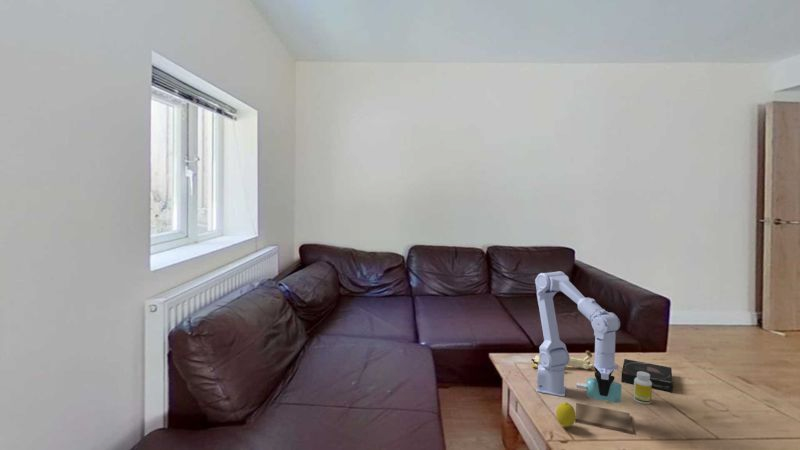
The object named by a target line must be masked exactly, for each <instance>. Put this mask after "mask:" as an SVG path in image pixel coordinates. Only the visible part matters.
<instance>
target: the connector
mask: <svg viewBox="0 0 800 450" xmlns="http://www.w3.org/2000/svg"><path fill="white" fill-rule="evenodd" d="M576 389H581V390H585V391H586V393H585V394H586V397H589V398H590V399H595V400H599V401H604V402H609V403H610V402H612V403H618V404H619V403H621V402H622V384H621V383H619V382H617V381H613V382H612V384H611V386H610V389H609V393H608V396H601V395H600V393H599V387H598V382H597V380H596V378H595V377H588V378H586V383H583V382H582V383H581V382H576Z"/></svg>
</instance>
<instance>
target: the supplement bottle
mask: <svg viewBox="0 0 800 450" xmlns="http://www.w3.org/2000/svg"><path fill="white" fill-rule="evenodd" d="M649 379H650V374H649V373H646V372H642V371H639V372H637V377H636V378H635V379H634V385H633V400H634V401H635V402H637V403H640V404H645V405H649V404H651V403H652V390H653V389H652V382H651V381H650V380H649Z"/></svg>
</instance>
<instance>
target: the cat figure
mask: <svg viewBox="0 0 800 450" xmlns="http://www.w3.org/2000/svg"><path fill="white" fill-rule="evenodd" d="M585 354H586V355H587V356H586V357H584V358H575V357H572V356H571V357H570V360H569V363H568V364H566V366H571V367H575V368H580V369H584V370H589V369H590V371H591V372H592V371H595V368H594V363H591V361H590V359H592V358H593V354H592V352H591V351H590V350H585ZM531 361H532V362H530V365H531V367H532V368H536V369H538V365H539V364H541V363H540V360H539V354H536V355H535V356H534V357H532V358H531ZM541 365H542V364H541Z"/></svg>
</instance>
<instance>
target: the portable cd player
mask: <svg viewBox="0 0 800 450" xmlns="http://www.w3.org/2000/svg"><path fill="white" fill-rule="evenodd" d="M639 371H642V372H646V373H649V374H650V379H649V380H650V381H651V382H652V390H657V391H662V392H666V393H670V394H673V388H674V383H673V382H674V381H673V371H672V367H670V366H664V365H659V364H653V363H649V362H645V361H644V362H643V361H637V360H631V359H627V358H624V360H623V365H622V370H621V381H620V382H621V383H623V384H626V385H627V384H629V385H632V386H634V379H635V378H636V377H637V372H639Z"/></svg>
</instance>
